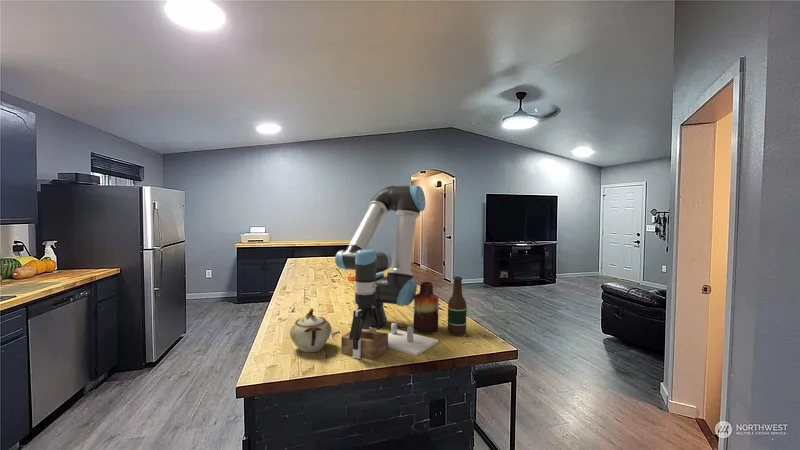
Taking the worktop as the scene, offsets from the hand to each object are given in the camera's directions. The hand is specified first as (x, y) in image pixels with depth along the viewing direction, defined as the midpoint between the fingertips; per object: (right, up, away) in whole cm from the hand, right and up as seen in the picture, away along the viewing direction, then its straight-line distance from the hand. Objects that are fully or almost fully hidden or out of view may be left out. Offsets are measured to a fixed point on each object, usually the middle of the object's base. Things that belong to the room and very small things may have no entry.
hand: (365, 351), depth 126 cm
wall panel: (+15, 0, +9) cm, 18 cm away
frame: (0, 0, 0) cm, 0 cm away
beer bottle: (+37, 0, +20) cm, 42 cm away
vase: (+24, 0, +25) cm, 34 cm away
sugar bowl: (-20, 0, +3) cm, 21 cm away
